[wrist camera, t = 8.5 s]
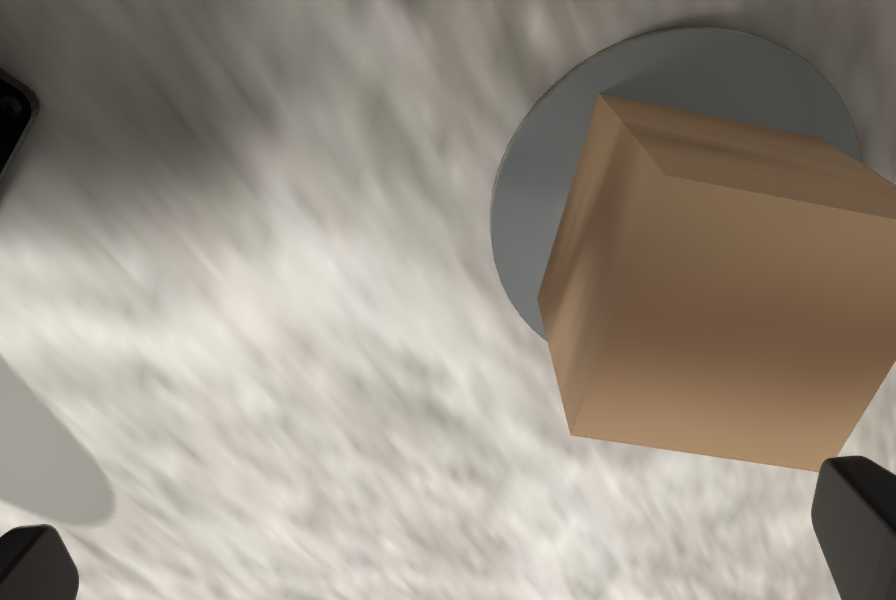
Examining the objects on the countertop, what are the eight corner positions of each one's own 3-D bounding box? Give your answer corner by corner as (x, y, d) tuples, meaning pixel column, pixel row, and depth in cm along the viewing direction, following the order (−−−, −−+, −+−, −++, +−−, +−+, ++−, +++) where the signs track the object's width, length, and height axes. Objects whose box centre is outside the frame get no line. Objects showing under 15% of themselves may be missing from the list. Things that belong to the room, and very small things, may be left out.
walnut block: (730, 331, 21) (826, 473, 16) (536, 298, 21) (570, 435, 15) (820, 138, 18) (972, 234, 13) (598, 93, 18) (665, 175, 13)
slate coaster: (656, 412, 24) (661, 423, 23) (417, 238, 20) (416, 247, 20) (923, 189, 20) (937, 197, 19) (683, -67, 17) (691, -66, 16)
